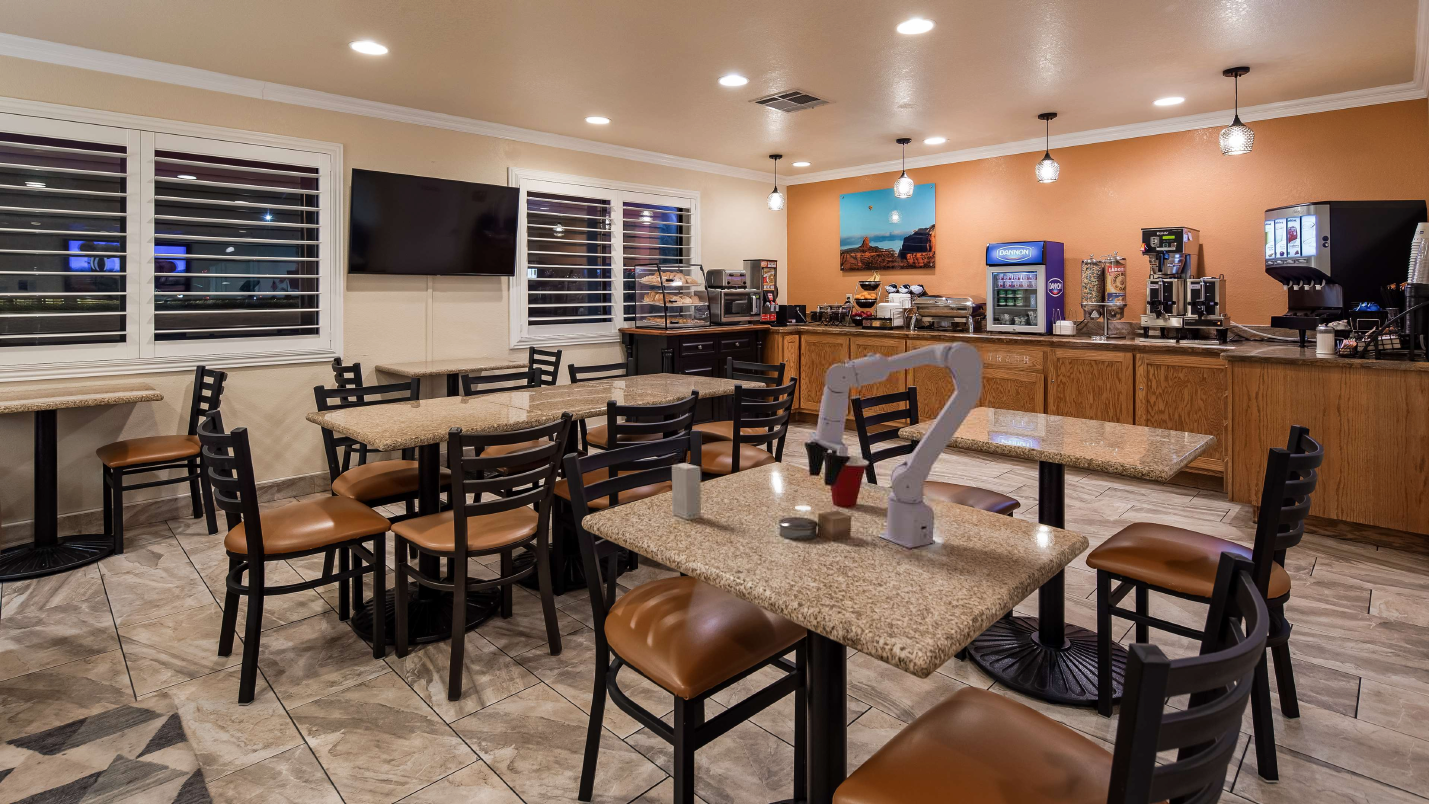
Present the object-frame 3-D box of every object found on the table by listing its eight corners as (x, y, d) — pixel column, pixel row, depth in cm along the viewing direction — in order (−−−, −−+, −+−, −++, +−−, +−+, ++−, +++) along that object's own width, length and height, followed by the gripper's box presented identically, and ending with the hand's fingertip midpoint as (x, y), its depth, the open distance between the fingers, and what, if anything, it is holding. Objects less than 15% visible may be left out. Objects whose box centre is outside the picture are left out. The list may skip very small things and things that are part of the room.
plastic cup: (870, 510, 183) (873, 462, 181) (826, 509, 183) (828, 461, 181) (863, 499, 194) (865, 454, 192) (821, 498, 194) (823, 453, 192)
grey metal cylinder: (825, 538, 160) (825, 524, 160) (794, 544, 156) (794, 530, 156) (801, 528, 168) (801, 515, 167) (770, 533, 163) (771, 520, 163)
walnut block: (850, 538, 160) (851, 516, 160) (832, 542, 158) (833, 519, 157) (835, 532, 164) (836, 510, 164) (817, 535, 162) (818, 513, 161)
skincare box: (701, 517, 174) (702, 466, 172) (686, 520, 171) (687, 468, 169) (685, 511, 179) (686, 462, 177) (670, 514, 176) (671, 464, 174)
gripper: (801, 411, 166) (791, 470, 168) (830, 424, 152) (819, 488, 154) (829, 413, 168) (819, 471, 170) (860, 427, 155) (849, 490, 157)
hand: (821, 480), depth 162 cm, fingers open, 7 cm apart
